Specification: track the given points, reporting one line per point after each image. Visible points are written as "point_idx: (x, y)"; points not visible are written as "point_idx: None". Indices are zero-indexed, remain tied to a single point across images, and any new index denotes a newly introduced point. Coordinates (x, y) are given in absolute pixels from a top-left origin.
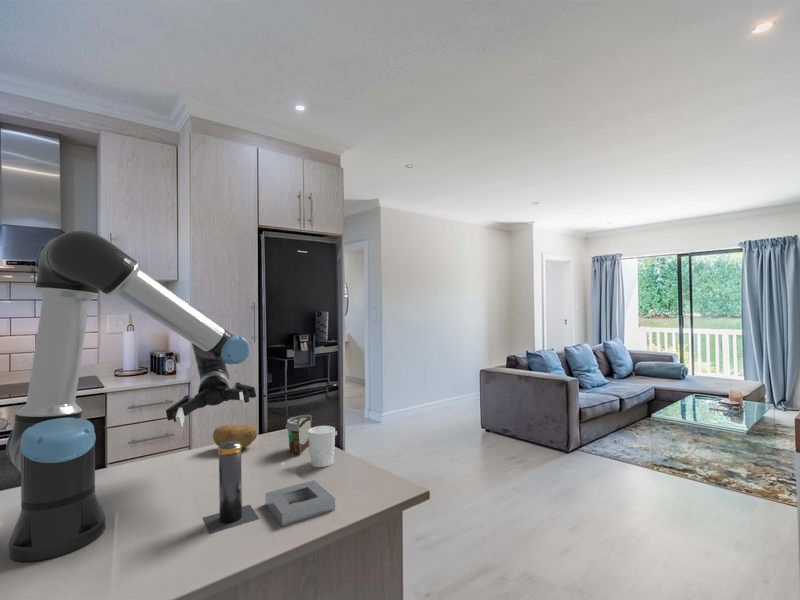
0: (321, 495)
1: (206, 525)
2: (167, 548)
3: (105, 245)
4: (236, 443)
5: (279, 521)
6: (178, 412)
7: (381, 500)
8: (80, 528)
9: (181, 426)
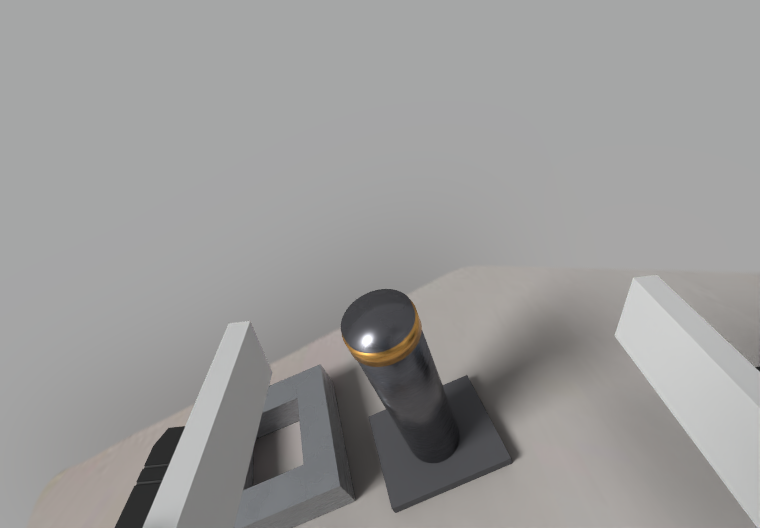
0: None
1: (485, 412)
2: (546, 362)
3: None
4: (355, 319)
5: (331, 391)
6: (719, 345)
7: (130, 462)
8: None
9: (618, 330)
